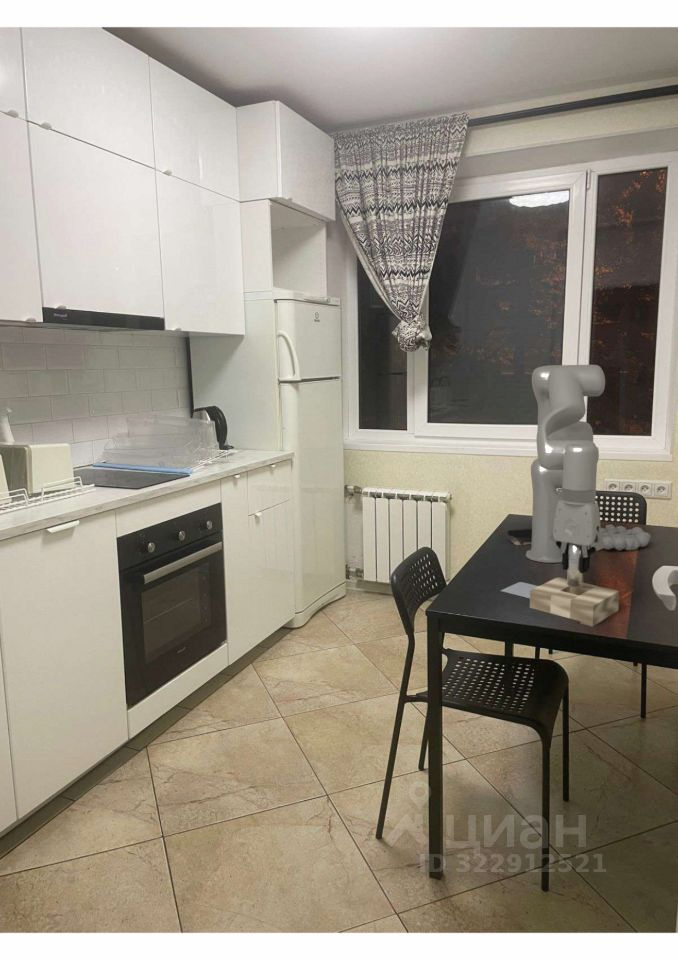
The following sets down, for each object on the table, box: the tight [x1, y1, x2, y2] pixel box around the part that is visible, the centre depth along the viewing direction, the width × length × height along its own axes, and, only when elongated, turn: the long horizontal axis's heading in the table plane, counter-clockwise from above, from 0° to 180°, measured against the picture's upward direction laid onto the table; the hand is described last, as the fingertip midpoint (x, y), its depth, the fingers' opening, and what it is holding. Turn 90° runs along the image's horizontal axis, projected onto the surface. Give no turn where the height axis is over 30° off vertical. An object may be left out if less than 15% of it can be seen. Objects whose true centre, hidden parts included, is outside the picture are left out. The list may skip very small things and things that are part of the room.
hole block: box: [529, 576, 620, 627], centre depth 164 cm, size 14×16×5 cm
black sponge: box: [506, 528, 532, 546], centre depth 229 cm, size 16×8×4 cm, turn 101°
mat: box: [500, 581, 539, 599], centre depth 178 cm, size 10×10×1 cm
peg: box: [566, 543, 584, 587], centre depth 163 cm, size 4×4×12 cm
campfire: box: [592, 524, 651, 552], centre depth 222 cm, size 22×21×6 cm
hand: (575, 569), depth 163 cm, fingers closed on peg, 3 cm apart
